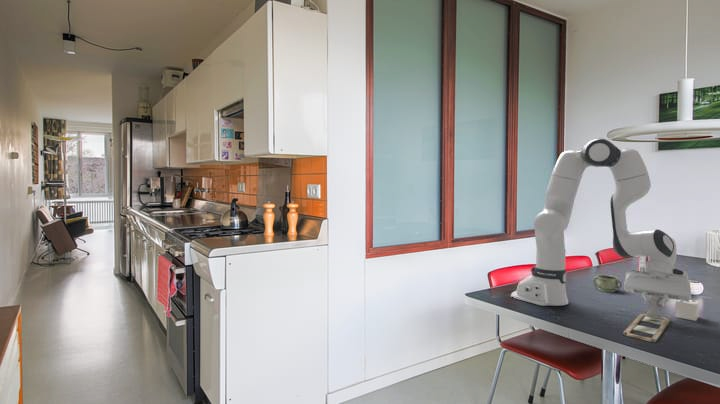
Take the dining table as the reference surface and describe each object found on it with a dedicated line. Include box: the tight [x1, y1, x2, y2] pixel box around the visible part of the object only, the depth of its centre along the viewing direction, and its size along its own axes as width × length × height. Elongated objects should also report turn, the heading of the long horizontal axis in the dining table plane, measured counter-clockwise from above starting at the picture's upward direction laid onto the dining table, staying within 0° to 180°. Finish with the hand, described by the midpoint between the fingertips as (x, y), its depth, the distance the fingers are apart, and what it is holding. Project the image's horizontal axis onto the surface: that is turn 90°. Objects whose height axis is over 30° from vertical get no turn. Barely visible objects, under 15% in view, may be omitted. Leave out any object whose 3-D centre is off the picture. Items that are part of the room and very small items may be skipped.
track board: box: [622, 313, 671, 343], centre depth 142 cm, size 9×28×1 cm, turn 135°
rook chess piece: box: [645, 295, 662, 319], centre depth 149 cm, size 4×4×8 cm
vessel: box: [592, 274, 623, 293], centre depth 192 cm, size 12×9×6 cm
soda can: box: [637, 256, 648, 272], centre depth 221 cm, size 8×8×15 cm
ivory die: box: [675, 299, 700, 322], centre depth 154 cm, size 6×6×6 cm
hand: (653, 304), depth 149 cm, fingers closed on rook chess piece, 3 cm apart
